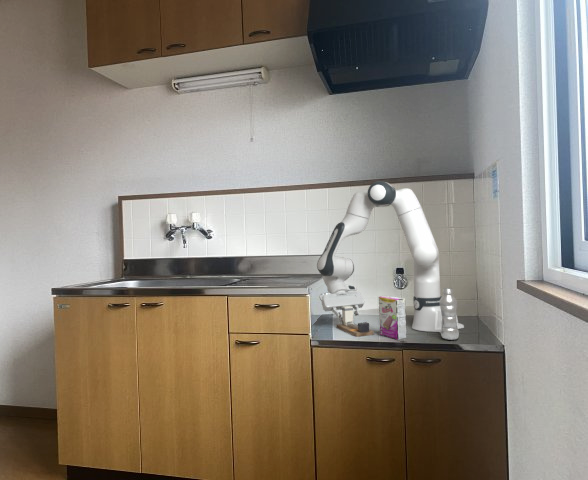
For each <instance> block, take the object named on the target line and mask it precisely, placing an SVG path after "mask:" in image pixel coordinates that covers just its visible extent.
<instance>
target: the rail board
mask: <svg viewBox="0 0 588 480" xmlns="http://www.w3.org/2000/svg"><path fill="white" fill-rule="evenodd" d="M336 329H338V330H339V331H340V330H341V331H342V332H346V334H349V335H352V336H353V337H357V338H359V337H365V336H367V337H368V336H373V335H375V334H374V332H375V331H374V330H371V329H369V332H363V333H360V332H358V330H357V329H354V328H351V327H349V326H346V325H344V321H343V320H342V317H339V318H338V324H336Z"/></svg>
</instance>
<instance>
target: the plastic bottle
mask: <svg viewBox="0 0 588 480" xmlns="http://www.w3.org/2000/svg"><path fill="white" fill-rule="evenodd" d="M442 294H443V295H442V296H441V299H440V308H441V315H442V327H441V332H440V336H441V338H442V339H444V340H449V341H454V340H457V339H458V338H459V335H460V332H459V329H458V328H457V320H456V315H457V309H458V301H457V298H456V297H455V296H454V288H452V287H451V288H450V287H448V288H445V287H444V288H443V289H442Z"/></svg>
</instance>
